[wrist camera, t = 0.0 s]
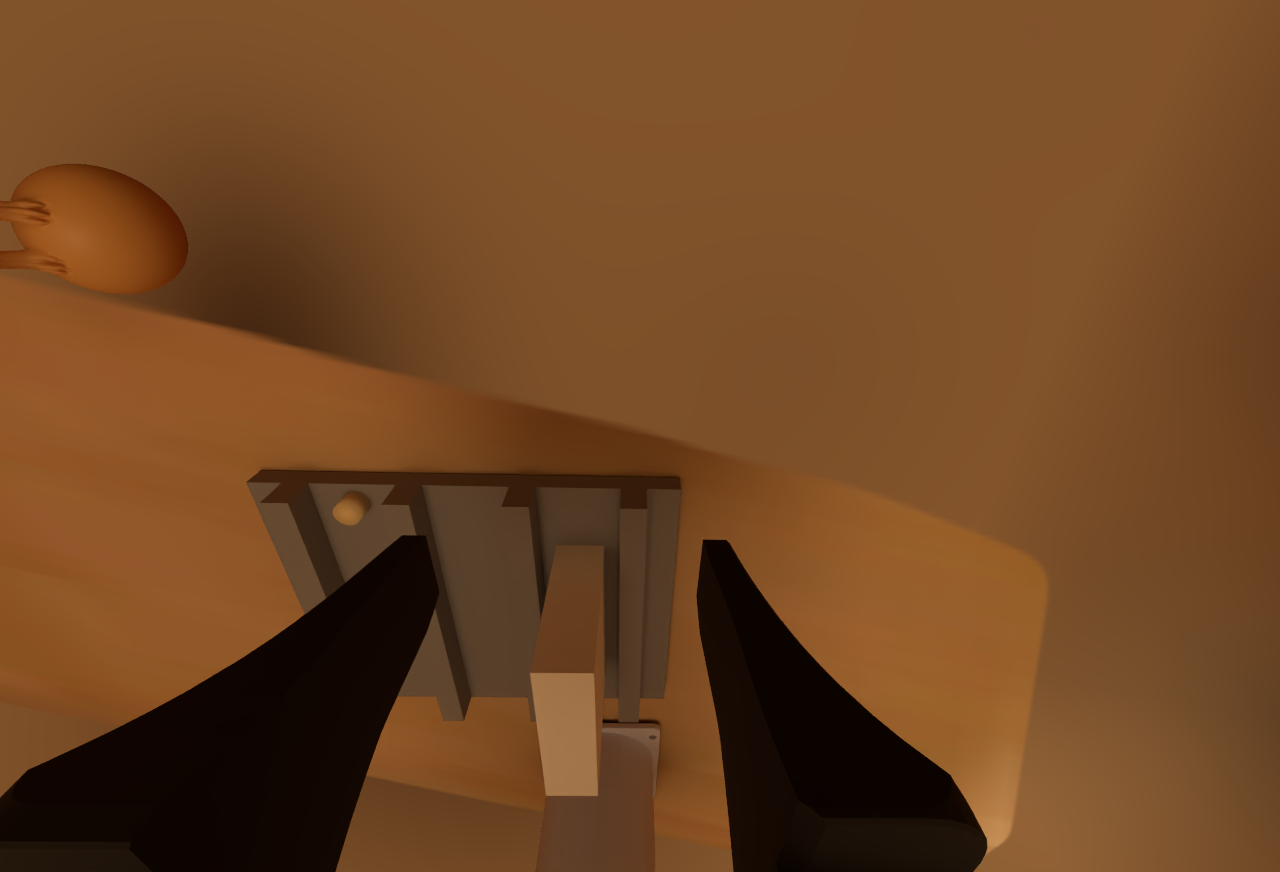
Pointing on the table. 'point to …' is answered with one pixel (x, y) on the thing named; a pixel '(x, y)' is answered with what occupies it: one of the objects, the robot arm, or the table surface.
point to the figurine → (94, 230)
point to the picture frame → (571, 671)
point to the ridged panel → (490, 566)
